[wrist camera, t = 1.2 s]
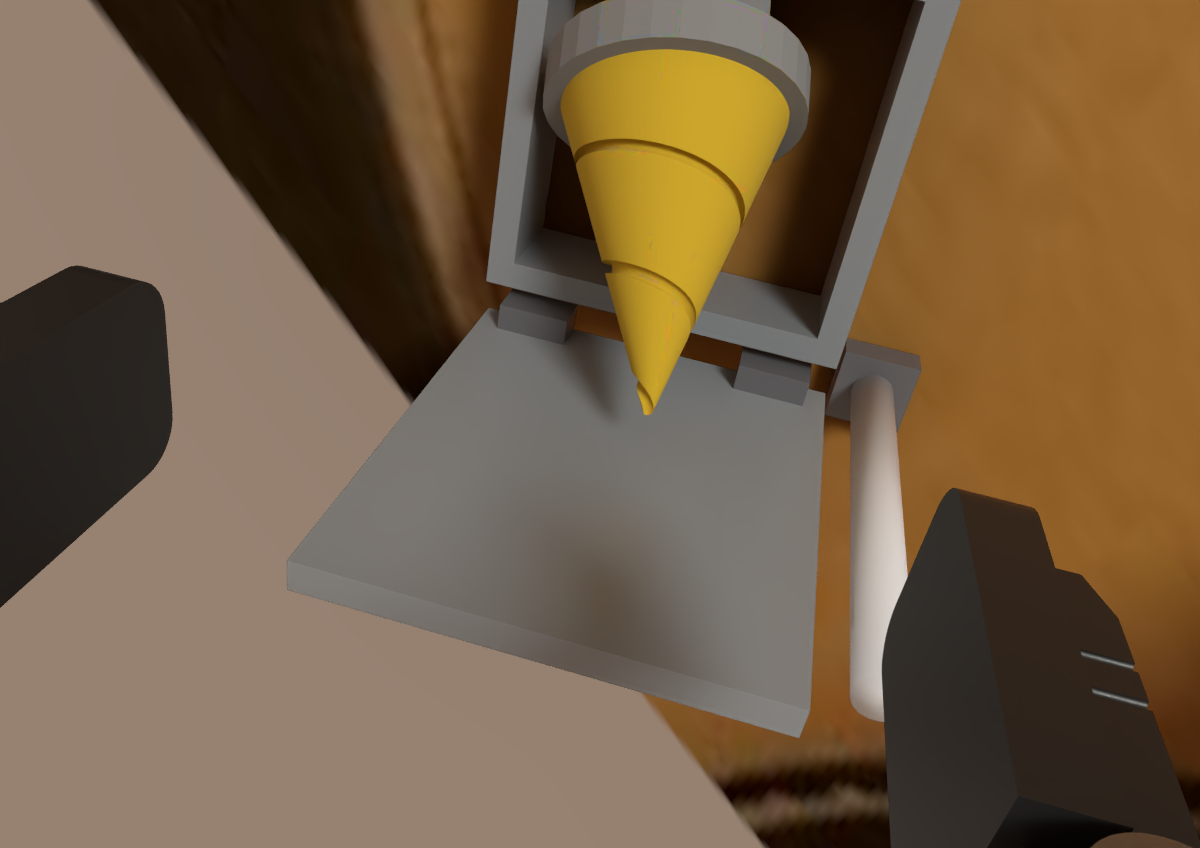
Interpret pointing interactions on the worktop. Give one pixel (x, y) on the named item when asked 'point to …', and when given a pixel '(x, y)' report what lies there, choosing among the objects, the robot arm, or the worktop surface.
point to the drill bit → (672, 149)
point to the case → (642, 454)
